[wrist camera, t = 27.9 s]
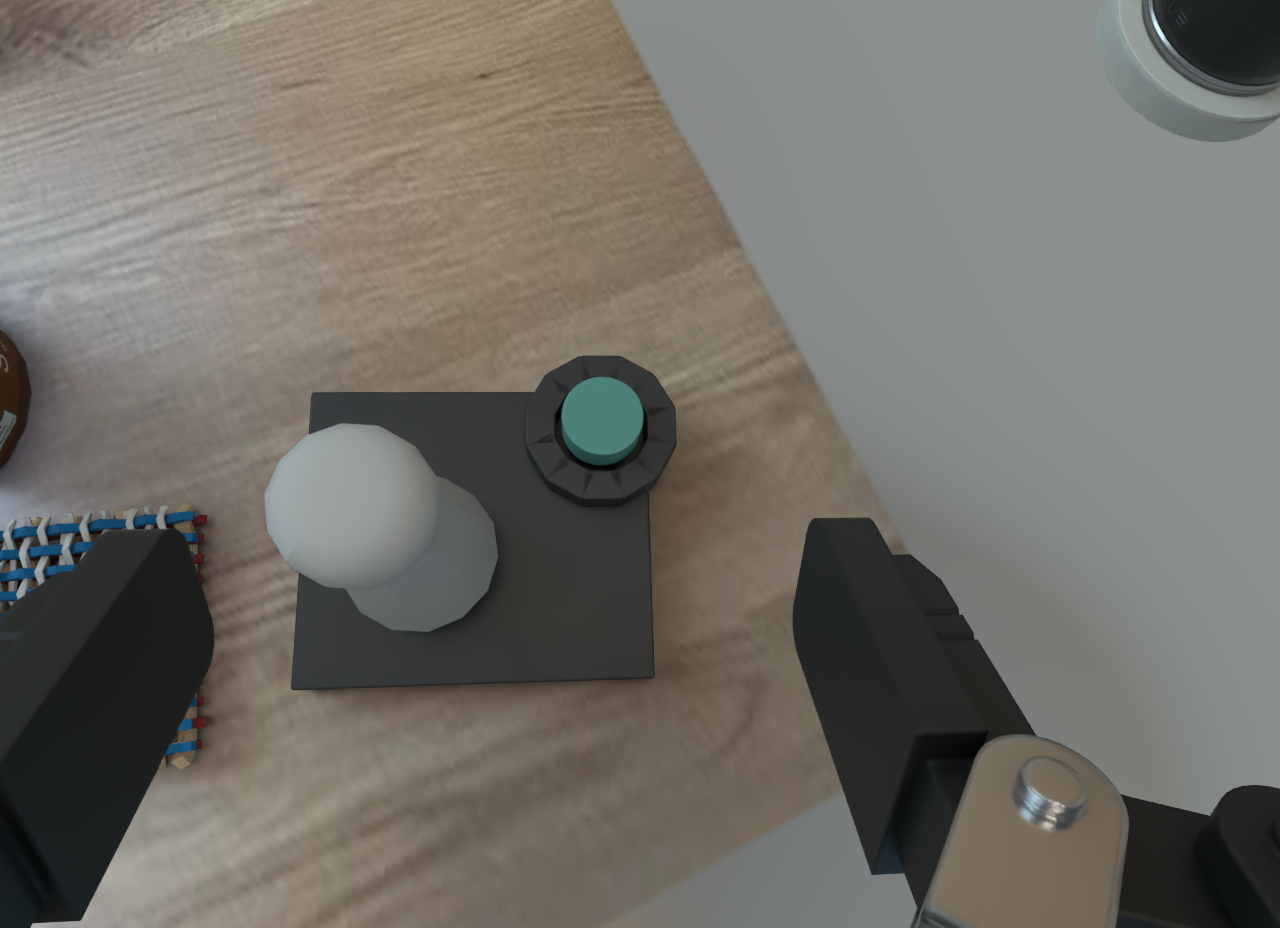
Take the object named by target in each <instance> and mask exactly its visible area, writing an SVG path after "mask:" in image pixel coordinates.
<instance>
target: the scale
mask: <svg viewBox="0 0 1280 928" xmlns="http://www.w3.org/2000/svg"><path fill="white" fill-rule="evenodd" d="M595 377H609V378H613V379H616V380H619V381H621V382H623V383H625V384H626V385H628V386H629V387H630V388H631V389H632V390H633V391H634V392H635V393H636V395H637V396H638V398H639V400H640V402H641V404H642V408H643V414H644V421H643V426H642V429H641V433H640V436H639V439H638V442H637V444H636V446H635V448H634V449H633V451H632V452H631V453H630V454H629V455H628V456H627V457H626V458H624V459H623V460H621V461H619V462H617V463H614V464H611V465H603V466H600V465H592V464H589V463H586V462H584V461H582V460H580V459H579V458H577V457H576V456H575V455H574V454H573V453H572V452H571V451H570V450H569V448H568V447H567V445H566V443H565V441H564V438H563V434H562V407H563V404H564V401H565V399H566V397H567V395H568V394H569V393H570V391H571V390H572V389H573V388H574V387H575V386H577V385H578V384H579V383H581V382H583V381H585V380H588V379H591V378H595ZM341 423H344V424H361V425H377V426H380V427H382V428H384V429H386V430H388V431H390V432H391V433H393V434H395V435H397V436H398V437H400V438H402V439H404V440H405V441H407V442H409V443H411V444H412V445H414V446H416V448H417V449H418V451H419V452H420V453H421V455H422V456H423V458H424V459H425V461H426V462H427V463H428V465H429V466H430V468H431V469H432V471H433V472H434V473H435V475H436V476H437V477H441V478H445V479H447V480H448V481H450V482H452V483H453V484H455V485H457V486H459V487H460V488H462V489H464V490H465V491H467V492H469V493H471V494H472V495H474V496H475V497H476V499H477V500H478V501H479V503H480V504H481V506H482V507H483V508H484V510H485V511H486V513H487V514H488V515H489V517H490V518H491V520H492V521H493V522H494V528H495V536H496V544H497V552H498V560H497V563H496V566H495V569H494V572H493V575H492V579H491V582H490V585H489V588H488V591H487V592H486V593H485V594H484V595H483V596H482V597H481V598H480V600H479V601H478V602H477V603H476V604H475V605H474V606H473V607H472V608H471V609H470V610H469V611H468V612H467V613H466V614H465V615H464V617H463V618H460V619H458V620H456V621H453V622H451V623H448V624H446V625H444V626H441V627H439V628H436V629H434V630H431V631H429V632H421V631H403V630H391V629H389V628H387V627H386V626H384V625H382V624H380V623H378V622H377V621H375V620H373V619H371V618H370V617H368V616H366V615H364V614H362V613H361V612H360V611H359V609H358V608H357V606H356V605H355V603H354V602H353V600H352V598H351V597H350V595H349V594H348V592H347V591H346V589H345V588H331V587H325V586H323V585H321V584H319V583H317V582H316V581H314V580H312V579H310V578H308V577H307V576H305V575H303V574H301V573H299V581H298V595H297V610H296V624H295V638H294V653H293V667H292V681H291V689H292V690H316V689H346V688H376V687H406V686H436V685H466V684H496V683H527V682H557V681H587V680H617V679H647V678H654V676H655V672H654V643H653V613H652V583H651V554H650V524H649V494H648V490H649V489H651V488H653V486H654V485H655V484H656V482H657V481H658V479H659V477H660V475H661V473H662V472H663V470H664V468H665V466H666V464H667V462H668V461H669V459H670V457H671V455H672V453H673V451H674V449H675V446H676V444H677V440H676V417H675V407H674V405H673V403H672V401H671V400H670V398H669V397H668V395H667V394H666V392H665V391H664V389H663V387H662V386H661V384H660V383H659V381H658V380H657V378H656V377H655V376H654V375H653V373H651V372H649V371H647V370H645V369H644V368H642V367H640V366H638V365H636V364H634V363H632V362H631V361H629V360H627V359H625V358H623V357H621V356H620V357H619V356H581V357H580V356H579V357H577V358H575V359H573V360H571V361H569V362H568V363H566V364H564V365H562V366H560V367H558V368H556V369H555V370H553V371H551V372H549V373H548V374H547V375H545V376H544V378H543V379H542V381H541V383H540V384H539V386H538V388H537V389H536V391H535V392H314V393H312V396H311V410H310V424H309V434H312V433H315V432H318V431H320V430H323V429H326V428H329V427H332V426H335V425H338V424H341Z"/></svg>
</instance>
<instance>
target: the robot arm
mask: <svg viewBox="0 0 1280 928" xmlns="http://www.w3.org/2000/svg"><path fill="white" fill-rule="evenodd" d="M1142 17H1143V22H1144V25H1145V29H1146V31H1147V34H1148V36H1149V38H1150V40H1151V42H1152V44H1153V45H1154V47H1155V49H1156V50H1157V51H1158V53H1159V54H1160V55H1161V57H1162V58H1163V59H1164V60H1165V61H1166V62H1167V63H1168V64H1169V65H1170V66H1171V67H1172V68H1173V69H1174V70H1175V71H1177V72H1178V73H1179V74H1180V75H1182V76H1183V77H1185V78H1186V79H1188V80H1189V81H1191V82H1192V83H1194V84H1196V85H1198V86H1200V87H1202V88H1205V89H1207V90H1210V91H1213V92H1216V93H1220V94H1223V95H1229V96H1238V97H1249V96H1257V95H1262V94H1265V93H1268V92H1271V91H1273V90H1275V89H1277V88H1279V87H1280V0H1142ZM793 634H794V641H795V647H796V651H797V654H798V657H799V660H800V663H801V666H802V669H803V672H804V675H805V678H806V681H807V684H808V687H809V690H810V693H811V696H812V699H813V702H814V705H815V708H816V711H817V714H818V717H819V719H820V722H821V725H822V728H823V731H824V734H825V737H826V740H827V743H828V746H829V749H830V752H831V755H832V758H833V761H834V764H835V767H836V770H837V773H838V776H839V779H840V782H841V785H842V788H843V791H844V794H845V797H846V800H847V803H848V805H849V809H850V812H851V815H852V817H853V820H854V823H855V826H856V829H857V832H858V835H859V838H860V841H861V844H862V847H863V850H864V853H865V856H866V859H867V862H868V865H869V868H870V871H871V874H872V875H878V874H898V873H905V876H906V878H907V881H908V884H909V887H910V889H911V892H912V895H913V897H914V900H915V903H916V905H917V910H916V912H915V915H914V918H913V921H912V924H911V926H910V928H1280V789H1279V788H1274V787H1269V786H1260V785H1249V786H1241V787H1238V788H1234V789H1232V790H1231V791H1229V792H1227V793H1226V794H1225V795H1224V796H1223V797H1222V798H1221V800H1220V801H1219V803H1218V804H1217V806H1216V807H1215V809H1214V810H1213V812H1212V814H1211V815H1210V816H1208V815H1204V814H1199V813H1196V812H1191V811H1187V810H1183V809H1179V808H1174V807H1170V806H1166V805H1162V804H1158V803H1153V802H1149V801H1145V800H1140V799H1136V798H1132V797H1128V796H1125V795H1122V794H1119V792H1118V791H1117V789H1116V787H1115V786H1114V785H1113V783H1112V782H1111V781H1110V780H1109V779H1108V777H1107V776H1106V775H1105V774H1104V773H1103V772H1102V771H1101V770H1100V769H1099V768H1098V767H1096V766H1095V765H1094V764H1093V763H1091V762H1090V761H1089V760H1088V759H1086V758H1085V757H1083V756H1082V755H1080V754H1079V753H1077V752H1075V751H1074V750H1072V749H1070V748H1068V747H1066V746H1064V745H1062V744H1060V743H1057V742H1054V741H1052V740H1049V739H1046V738H1042V737H1038V736H1036V734H1035V733H1034V731H1033V729H1032V728H1031V726H1030V724H1029V723H1028V721H1027V719H1026V718H1025V716H1024V715H1023V713H1022V711H1021V710H1020V708H1019V706H1018V705H1017V703H1016V702H1015V700H1014V699H1013V697H1012V695H1011V693H1010V692H1009V690H1008V689H1007V687H1006V685H1005V684H1004V682H1003V680H1002V679H1001V677H1000V675H999V674H998V672H997V670H996V669H995V667H994V666H993V664H992V662H991V661H990V659H989V657H988V656H987V654H986V652H985V651H984V649H983V648H982V646H981V644H980V643H979V641H978V640H974V637H973V635H974V633H973V631H972V630H971V628H970V626H969V625H968V623H967V621H966V620H965V618H964V616H963V615H959V608H958V607H957V605H956V603H955V602H954V600H953V598H952V597H951V595H950V594H949V592H948V590H947V589H946V587H945V585H944V584H943V582H942V580H941V579H940V578H938V577H937V576H936V575H935V574H933V573H932V572H931V571H930V570H929V569H927V568H926V567H925V566H924V565H922V564H921V563H920V562H919V561H918V560H916V559H915V558H914V557H913V556H912V555H910V554H908V555H892V554H891V552H890V550H889V548H888V546H887V545H886V543H885V541H884V539H883V537H882V536H881V534H880V532H879V530H878V528H877V526H876V525H875V523H874V522H873V521H872V520H871V519H870V518H814V519H812V521H811V522H810V524H809V526H808V530H807V534H806V539H805V545H804V550H803V556H802V561H801V567H800V572H799V578H798V583H797V589H796V594H795V600H794V606H793ZM213 648H214V627H213V622H212V618H211V615H210V611H209V608H208V605H207V602H206V599H205V596H204V592H203V589H202V586H201V583H200V580H199V577H198V573H197V570H196V567H195V564H194V561H193V558H192V554H191V551H190V548H189V545H188V542H187V540H186V538H185V536H184V535H183V534H182V533H181V532H180V531H179V530H177V529H123V530H109V531H106V532H105V533H103V534H102V535H101V536H100V537H99V538H98V539H97V540H96V542H95V543H94V544H93V545H92V546H91V548H90V549H89V550H88V551H87V553H86V554H85V555H84V556H83V558H82V559H81V560H80V561H79V562H78V564H77V565H76V566H75V567H74V569H73V570H72V571H62V572H58V573H57V574H55V575H54V576H52V577H51V578H49V579H48V580H46V581H45V582H43V583H42V584H40V585H39V586H37V587H36V588H34V589H33V590H31V591H30V592H28V593H27V594H25V595H24V596H22V597H21V598H20V599H18V600H17V601H16V602H15V603H14V604H13V605H12V606H11V607H10V608H9V610H8V611H7V612H6V613H5V614H4V615H3V617H2V618H1V619H0V928H30V927H31V925H32V923H46V922H65V921H81V919H82V917H83V915H84V913H85V911H86V909H87V907H88V905H89V903H90V901H91V900H92V898H93V896H94V894H95V892H96V890H97V888H98V886H99V884H100V882H101V880H102V878H103V876H104V874H105V872H106V870H107V868H108V866H109V864H110V862H111V860H112V858H113V856H114V854H115V852H116V850H117V848H118V846H119V844H120V842H121V840H122V839H123V837H124V835H125V833H126V831H127V829H128V827H129V825H130V823H131V821H132V819H133V817H134V815H135V813H136V811H137V809H138V807H139V805H140V803H141V801H142V799H143V797H144V795H145V793H146V791H147V789H148V787H149V785H150V783H151V781H152V779H153V778H154V776H155V774H156V772H157V770H158V768H159V766H160V764H161V762H162V760H163V758H164V756H165V754H166V752H167V750H168V748H169V746H170V744H171V742H172V740H173V738H174V736H175V734H176V732H177V730H178V728H179V726H180V724H181V722H182V720H183V718H184V716H185V715H186V713H187V711H188V709H189V707H190V705H191V703H192V701H193V699H194V697H195V695H196V693H197V691H198V689H199V687H200V685H201V683H202V681H203V679H204V677H205V675H206V673H207V671H208V669H209V666H210V663H211V659H212V655H213Z"/></svg>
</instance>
